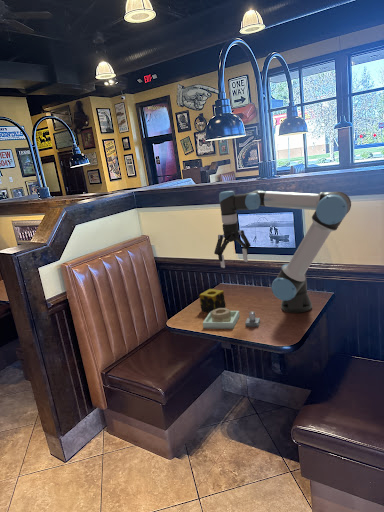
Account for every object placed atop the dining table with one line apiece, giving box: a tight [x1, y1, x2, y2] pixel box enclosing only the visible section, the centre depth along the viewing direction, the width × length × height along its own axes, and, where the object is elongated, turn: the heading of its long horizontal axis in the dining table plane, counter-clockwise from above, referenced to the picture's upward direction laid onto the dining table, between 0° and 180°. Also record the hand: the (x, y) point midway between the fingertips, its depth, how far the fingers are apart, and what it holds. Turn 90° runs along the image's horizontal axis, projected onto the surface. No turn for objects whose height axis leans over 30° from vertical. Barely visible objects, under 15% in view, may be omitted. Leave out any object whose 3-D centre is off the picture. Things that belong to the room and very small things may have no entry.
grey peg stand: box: [244, 311, 261, 328], centre depth 180 cm, size 6×6×6 cm
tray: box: [202, 310, 241, 330], centre depth 188 cm, size 15×15×3 cm
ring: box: [211, 307, 231, 322], centre depth 189 cm, size 11×9×5 cm
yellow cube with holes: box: [198, 288, 227, 314], centre depth 206 cm, size 10×10×10 cm
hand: (234, 264), depth 190 cm, fingers open, 13 cm apart
